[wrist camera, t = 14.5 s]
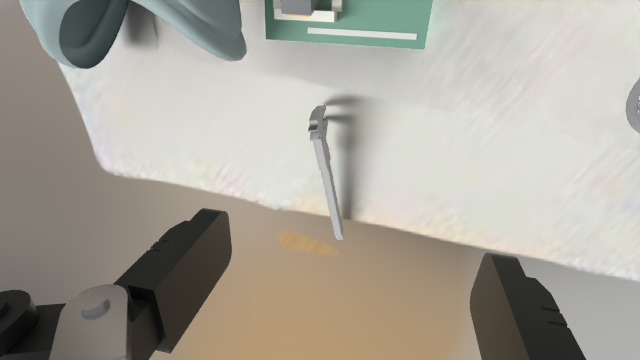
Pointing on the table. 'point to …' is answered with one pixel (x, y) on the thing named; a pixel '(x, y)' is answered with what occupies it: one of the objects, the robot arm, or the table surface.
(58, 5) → the pencil case
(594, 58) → the table surface
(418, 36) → the board
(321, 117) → the caliper
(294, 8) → the switch
